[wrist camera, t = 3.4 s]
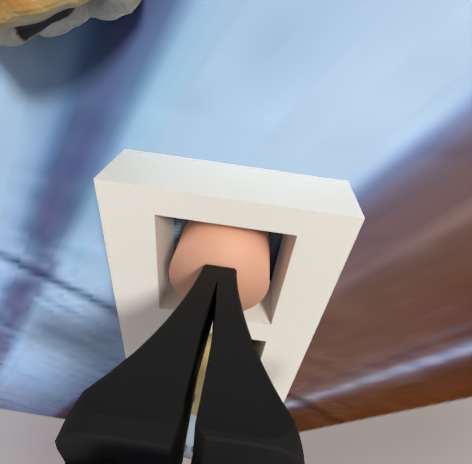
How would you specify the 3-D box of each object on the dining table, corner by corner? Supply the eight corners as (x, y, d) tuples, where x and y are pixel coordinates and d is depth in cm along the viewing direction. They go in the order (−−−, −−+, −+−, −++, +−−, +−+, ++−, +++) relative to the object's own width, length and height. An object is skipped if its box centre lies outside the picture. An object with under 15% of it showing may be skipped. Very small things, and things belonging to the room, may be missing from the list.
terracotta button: (262, 275, 17) (260, 323, 14) (183, 263, 17) (168, 309, 15) (277, 208, 14) (278, 252, 12) (185, 195, 14) (166, 235, 12)
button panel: (264, 407, 27) (263, 447, 24) (150, 391, 27) (138, 429, 24) (348, 180, 14) (364, 218, 11) (124, 148, 14) (93, 178, 11)
